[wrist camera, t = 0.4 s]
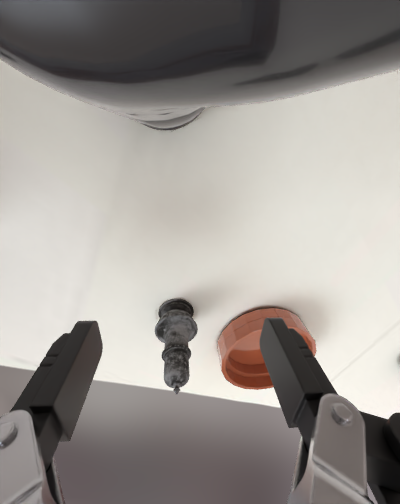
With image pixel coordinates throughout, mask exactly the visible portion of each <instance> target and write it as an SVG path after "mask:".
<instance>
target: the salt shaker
mask: <svg viewBox="0 0 400 504" xmlns="http://www.w3.org/2000/svg"><path fill="white" fill-rule="evenodd" d="M193 313H194V311H193V307H192V305H191V304H190V303H189V302H187V301H185V300H182V299H172V300H169V301H166V302H165V303H163V304H162V306H161V307H160V309H159V317H160V320H159V322H158V323H157V325H156V327H155V334H156V336H157V338H158V339H159V340H160V341H161V342H163V343H165V350H164V351H163V352H162V359H163V360H164V361H165V364H164V381H165V383H166V384H167V386H169V387H172V388H175V389H174V392H175V393H176V394H178V392H179V391H180V389H179V388H180V387H182V386H184V385H185V384H186V383H187V382H188V380H189V361H188V359H189V358H190V357H191V351H190V349H189V348H188V342H189V341H191V340H192V339H193V338H194V337H195V335H196V334H197V330H198V329H197V324H196V322H195V321H194V320H193V318H192V316H193Z"/></svg>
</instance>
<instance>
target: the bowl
mask: <svg viewBox="0 0 400 504" xmlns="http://www.w3.org/2000/svg"><path fill="white" fill-rule="evenodd" d="M280 317H281V318H282V319H283V320H284V322H285V323H286V325H287V327H288V329H289V328H293V329H295V330H296V331H297V332H298V333H299V334H300V335H301V336H302V337H303V338H304V340H305V342H306V343H307V345H308V347H309V349H310V350H311V351H312V353H313V355H314V356H315V353H316V344H315V340H314V339H313V337H312V336H311V334H310V333H309V331H308V330H307V328H306V327H305V326H304V324H303V323H302V321H301V320H300V319H299V317H298V316H297V315H295V314H293V313H291V312H290V311H288V310H283V309H278V308H267V309H258V310H255V311H252V312H249V313H246V314H243V315H242V316H240V317H239V318H237V319H235V320H234V321H232V322H231V323H230V324H229V325H228V326H227V327H226V328H225V329H224V330H223V331H222V333H221V336H220V338H219V340H218V355H219V360H220V366H221V371H222V373H223V375H224V377H225V379H226V380H228V381H229V382H230V383H232V384H233V385H235V386H238V387H241V388H244V389H256V390H258V389H266V388H272V387H274V386H273V384H272V381H271V378H270V375H269V373H268V370H267V367H266V365H265V362H264V359H263V356H262V354H261V351H260V343H259V342H260V336H261V332H262V328H263V324H264V320H265V318H280Z"/></svg>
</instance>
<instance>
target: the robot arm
mask: <svg viewBox="0 0 400 504" xmlns="http://www.w3.org/2000/svg"><path fill="white" fill-rule="evenodd" d="M0 60H2V61H3V62H5V63H7V64H8V65H10V66H11V67H13V68H15V69H16V70H18V71H20V72H21V73H23V74H24V75H26V76H28V77H30V78H32V79H34V80H36V81H38V82H40V83H42V84H44V85H46V86H47V87H49V88H51V89H53V90H56V91H58V92H60V93H63V94H65V95H68V96H70V97H73V98H75V99H78V100H80V101H83V102H86V103H88V104H91V105H94V106H97V107H99V108H102V109H104V110H107V111H110V112H113V113H115V114H118V115H121V116H124V117H127V118H129V119H132V120H135V121H137V122H140V123H142V124H144V125H146V126H148V127H150V128H153V129H157V130H174V129H178V128H181V127H183V126H186V125H187V124H189V123H190V122H192V121H193V120H194V119H195V118H196V117H197V116H198V115H199V114H200V113H201V112H202V111H203V110H204V109H205V108H206V107H217V106H232V105H243V104H253V103H261V102H268V101H274V100H279V99H284V98H290V97H294V96H298V95H303V94H307V93H311V92H315V91H319V90H323V89H327V88H331V87H335V86H339V85H342V84H346V83H350V82H354V81H358V80H362V79H365V78H369V77H373V76H377V75H381V74H385V73H389V72H392V71H396V70H400V0H0ZM259 343H260V351H261V354H262V356H263V359H264V362H265V365H266V367H267V370H268V373H269V375H270V378H271V381H272V384H273V386H274V389H275V392H276V394H277V397H278V400H279V403H280V405H281V408H282V411H283V413H284V416H285V419H286V421H287V424H288V427H289V428H294V427H298V428H299V430H300V433H301V435H302V436H301V439H300V443H299V448H298V454H297V458H296V464H295V469H294V474H293V479H292V484H291V489H290V493H289V497H288V501H287V504H374V503H373V502H372V501H371V500H370V499H369V497H368V494H367V482H368V484H369V486H370V488H371V490H372V492H373V494H374V496H375V498H376V500H377V502H378V504H400V413H394V414H393V415H392V416H391V417H390V418H389V419H384V418H381V417H377V416H374V415H371V414H367V413H364V412H361V411H359V410H358V409H357V408H356V407H355V406H354V405H353V404H352V403H351V402H350V401H348V400H347V399H345V398H344V397H342V396H339V395H338V394H337V392H336V391H335V389H334V388H333V386H332V384H331V383H330V381H329V380H328V378H327V376H326V375H325V373H324V371H323V370H322V368H321V366H320V365H319V363H318V361H317V360H316V358H314V355H313V353H312V351H311V350H310V349H309V347H308V345H307V343H306V342H305V340H304V338H303V337H302V336H301V335H300V334H299V333H298V332H297V331H296V330H295V329H293V328H289V329H288V327H287V325H286V323H285V322H284V320H283V319H282V318H281V317H280V318H265V320H264V324H263V328H262V332H261V336H260V342H259ZM101 355H102V340H101V335H100V331H99V327H98V323H97V321H78V322H77V323H76V324H75V326H74V328H73V330H72V331H71V333H65V334H63V335H62V336H61V337H60V338H59V339H57V340H56V341H55V342H54V343H53V344H52V346H51V348H50V349H49V351H48V352H47V354H46V357H44V359H43V360H42V362H41V364H40V367H38V368H37V370H36V372H35V373H34V375H33V376H32V378H31V380H30V381H29V383H28V384H27V386H26V388H25V389H24V391H23V392H22V394H21V396H20V397H19V399H18V400H17V402H16V404H15V405H14V407H13V408H12V409H11V411H10V412H9V413H7V414H5V415H3V416H1V417H0V504H65V501H64V497H63V493H62V488H61V484H60V480H59V475H58V471H57V467H56V462H55V458H54V452H55V450H56V448H57V446H58V443H59V442H62V441H70V439H71V437H72V434H73V431H74V428H75V426H76V423H77V420H78V418H79V415H80V412H81V409H82V407H83V404H84V401H85V399H86V396H87V393H88V391H89V388H90V385H91V382H92V380H93V377H94V374H95V372H96V369H97V366H98V363H99V361H100V358H101Z"/></svg>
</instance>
